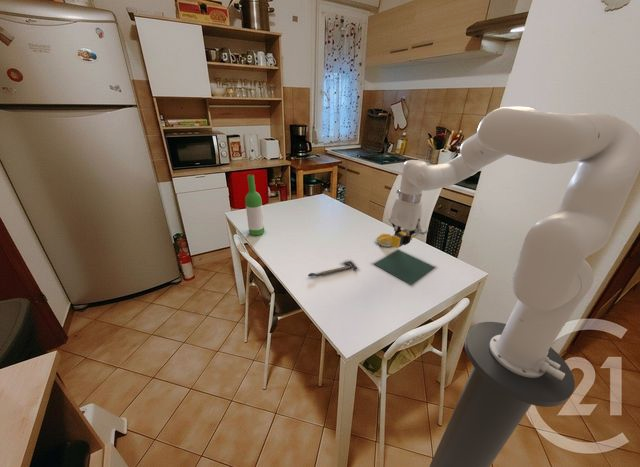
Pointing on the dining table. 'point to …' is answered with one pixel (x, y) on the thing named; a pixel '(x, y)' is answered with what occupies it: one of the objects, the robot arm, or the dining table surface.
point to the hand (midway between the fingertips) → (401, 241)
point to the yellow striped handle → (399, 237)
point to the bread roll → (384, 240)
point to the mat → (404, 266)
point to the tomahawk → (334, 270)
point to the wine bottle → (254, 209)
